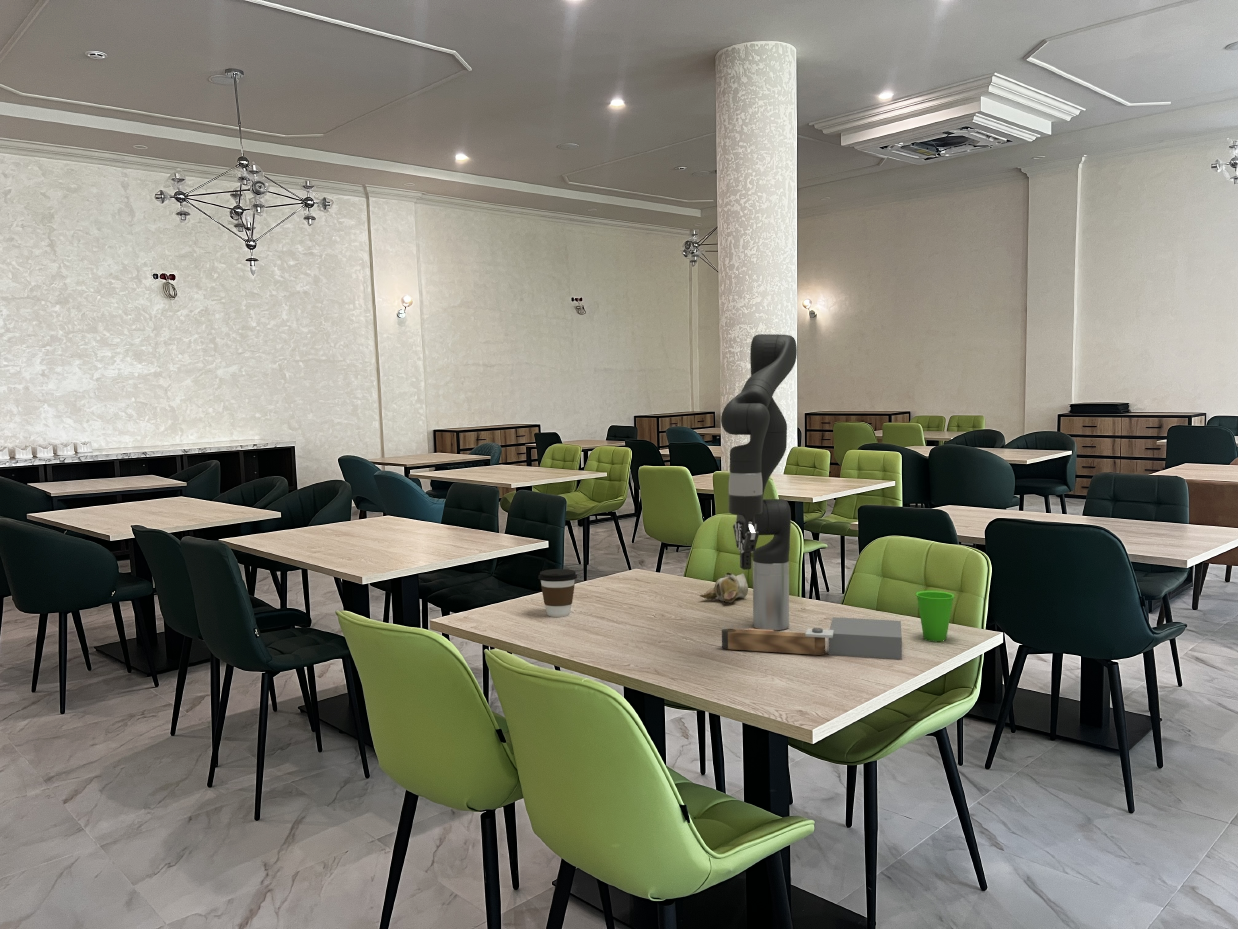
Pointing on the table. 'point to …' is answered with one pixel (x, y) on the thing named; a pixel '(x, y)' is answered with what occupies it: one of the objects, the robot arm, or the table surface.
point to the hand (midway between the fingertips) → (745, 568)
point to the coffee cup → (558, 591)
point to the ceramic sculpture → (728, 588)
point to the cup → (935, 613)
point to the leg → (772, 641)
